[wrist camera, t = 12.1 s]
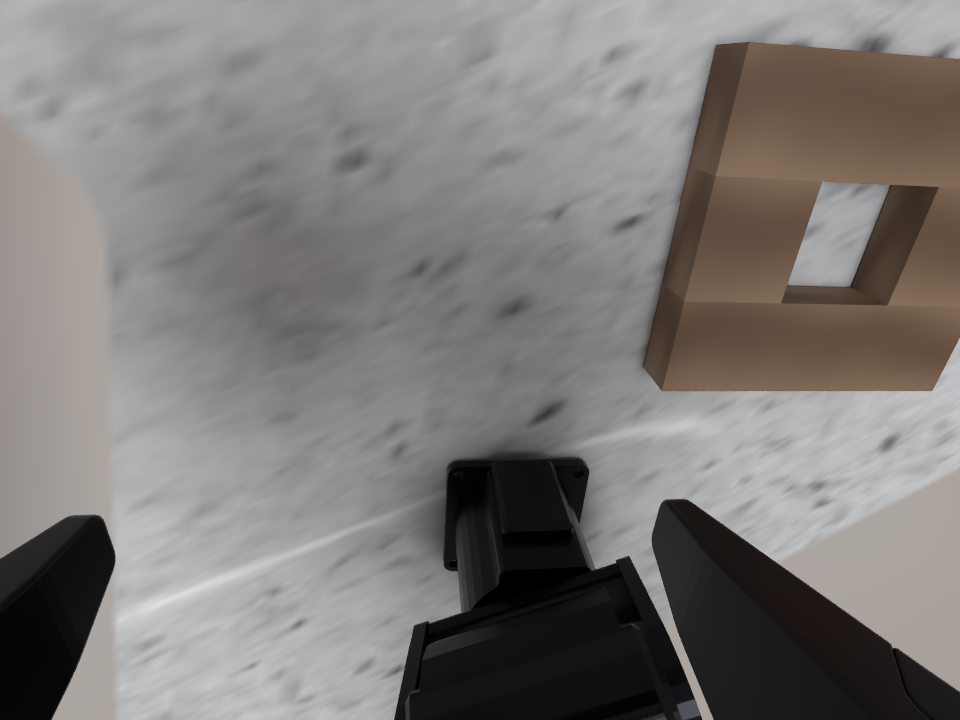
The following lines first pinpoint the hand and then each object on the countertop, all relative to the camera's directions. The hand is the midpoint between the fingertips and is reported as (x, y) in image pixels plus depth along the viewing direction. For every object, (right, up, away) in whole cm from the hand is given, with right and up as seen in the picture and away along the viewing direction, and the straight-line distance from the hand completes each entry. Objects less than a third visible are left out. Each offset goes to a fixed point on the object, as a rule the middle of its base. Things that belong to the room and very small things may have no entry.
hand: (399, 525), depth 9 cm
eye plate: (+15, +8, +12) cm, 21 cm away
